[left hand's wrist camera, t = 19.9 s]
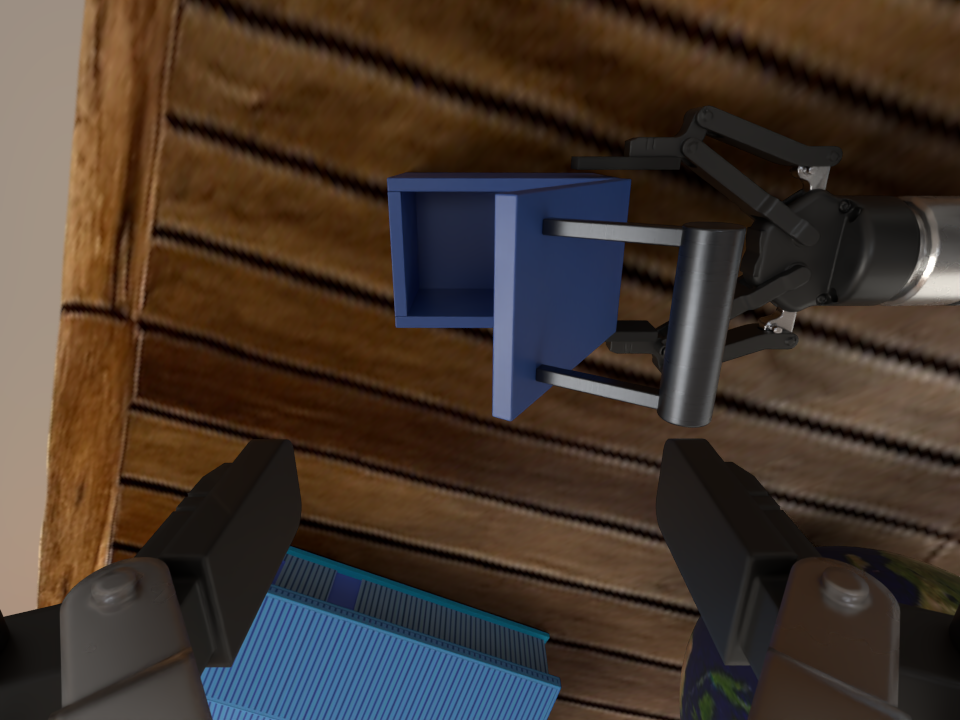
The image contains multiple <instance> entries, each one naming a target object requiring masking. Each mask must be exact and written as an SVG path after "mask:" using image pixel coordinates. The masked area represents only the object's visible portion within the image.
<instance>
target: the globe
mask: <svg viewBox="0 0 960 720" xmlns="http://www.w3.org/2000/svg"><path fill="white" fill-rule="evenodd" d="M814 548H815V549H816V550H817V551H818V552H819V553H820V555H821V556H822V557H823V558H830V559H834V560H838V561H841V562H844V563H847V564H850V565H852V566H855V567H857V568H859V569H861V570H863V571H865V572H866V573H868V574H870V575H871V576H873V577H874V578H876V579H877V580H878V581H880V582H881V583H882V584H883V585H884V586H885V587H886V588H887V589H888V590H889V591H890V592H891V593H892V594H893V596H894V597H895V599H896V600H897V602H898V603H902V604H906V605H910V606H915V607H919V608H924V609H928V610H932V611H937V612H941V613H946V614H950V615H955V613H956V610H957V608H958V606H959V603H960V577H959V576H957V575H955V574H953V573H950V572H948V571H946V570H943V569H941V568H938V567H936V566H934V565H931V564H928V563H925V562H922V561H919V560H916V559H913V558H910V557H906V556H903V555H899V554H895V553H891V552H887V551H882V550H874V549H867V548H859V547H846V546H822V547H814ZM757 684H758V679H757V677H756V675H755V673H754V671H753V670H752V668H751V666H750V665H724V663H723V661H722V658H721V656H720V654H719V652H718V650H717V648H716V646H715V644H714V642H713V640H712V637H711V635H710V633H709V631H708V629H707V627H706V625H705V623H704V621H703V619H702V616H700V618H699V620H698V621H697V623H696V626H695V628H694V630H693V632H692V635H691V637H690V640H689V643H688V645H687V649H686V653H685V657H684V661H683V665H682V672H681V680H680V718H681V720H747V719H748V715H749V712H750V708H751V705H752V701H753V698H754V695H755V691H756V688H757Z"/></svg>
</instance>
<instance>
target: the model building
mask: <svg viewBox="0 0 960 720" xmlns="http://www.w3.org/2000/svg"><path fill="white" fill-rule="evenodd" d="M549 638H550V637H549V633H546V632H543V631H540V630H537V629H534V628H531V627H528V626H525V625H522V624H519V623H516V622H513V621H510V620H507V619H504V618H501V617H498V616H495V615H492V614H490V613H487V612H484V611H481V610H478V609H475V608H472V607H469V606H466V605H463V604H460V603H457V602H454V601H451V600H448V599H445V598H442V597H439V596H436V595H433V594H430V593H428V592H425V591H422V590H419V589H416V588H413V587H410V586H407V585H404V584H401V583H398V582H395V581H392V580H389V579H386V578H383V577H380V576H377V575H374V574H371V573H369V572H366V571H363V570H360V569H357V568H354V567H351V566H348V565H345V564H342V563H339V562H336V561H333V560H330V559H327V558H324V557H321V556H318V555H315V554H312V553H309V552H307V551H304V550H301V549H298V548H295V547H292V546H290V547H289V549H288V551H287V553H286V555H285V557H284V559H283V561H282V563H281V565H280V567H279V569H278V571H277V574H276V576H275V578H274V580H273V582H272V584H271V586H270V588H269V590H268V592H267V594H266V596H265V598H264V600H263V603H262V605H261V607H260V609H259V611H258V613H257V615H256V617H255V619H254V621H253V623H252V625H251V627H250V629H249V632H248V634H247V636H246V638H245V640H244V642H243V644H242V646H241V648H240V650H239V652H238V654H237V656H236V658H235V661H234V663H233V665H232V667H205V669H204V671H203V673H202V675H201V681H202V684H203V688H204V691H205V695H206V698H207V701H208V705H209V708H210V712H211V715H212V719H213V720H547V719H548V716H549V714H550V712H551V710H552V707H553V705H554V703H555V701H556V698H557V696H558V694H559V692H560V689H561V682H560V678H559V677H556V676H553V675H550V674H549V673H548V666H547V658H546V651H545V643H546V642H547V640H548V639H549Z"/></svg>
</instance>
